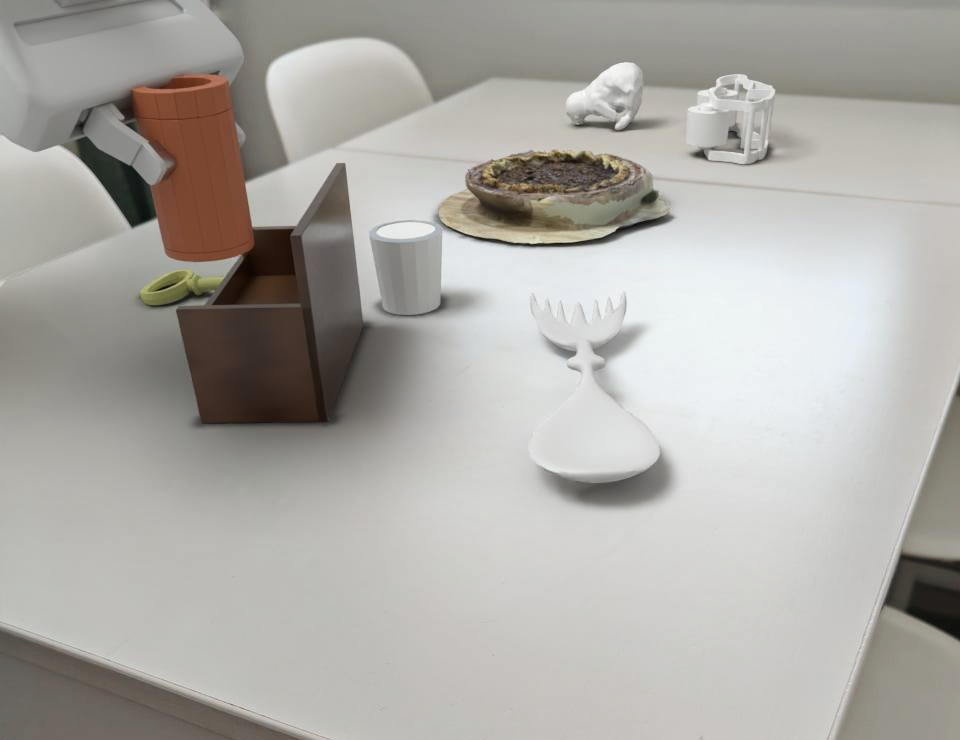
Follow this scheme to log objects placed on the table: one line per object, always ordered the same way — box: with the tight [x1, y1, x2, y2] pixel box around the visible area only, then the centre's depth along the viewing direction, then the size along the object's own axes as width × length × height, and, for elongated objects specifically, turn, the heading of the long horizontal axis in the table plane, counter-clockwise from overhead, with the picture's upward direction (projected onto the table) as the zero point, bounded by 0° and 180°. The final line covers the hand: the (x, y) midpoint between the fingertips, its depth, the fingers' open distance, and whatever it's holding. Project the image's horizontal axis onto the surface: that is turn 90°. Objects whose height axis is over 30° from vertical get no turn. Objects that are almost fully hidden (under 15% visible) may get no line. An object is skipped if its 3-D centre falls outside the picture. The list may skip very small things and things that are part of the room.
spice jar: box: [131, 74, 254, 263], centre depth 65 cm, size 6×6×10 cm
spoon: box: [528, 290, 661, 484], centre depth 78 cm, size 9×32×4 cm, turn 178°
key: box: [140, 268, 225, 306], centre depth 101 cm, size 7×12×2 cm, turn 96°
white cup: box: [368, 219, 443, 316], centre depth 95 cm, size 7×7×7 cm
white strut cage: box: [684, 73, 776, 165], centre depth 139 cm, size 20×11×7 cm, turn 164°
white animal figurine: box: [565, 61, 645, 132], centre depth 152 cm, size 6×8×12 cm
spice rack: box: [175, 162, 364, 424], centre depth 81 cm, size 10×20×14 cm, turn 177°
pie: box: [438, 149, 671, 245], centre depth 119 cm, size 28×27×5 cm
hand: (201, 161), depth 65 cm, fingers closed on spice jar, 6 cm apart
